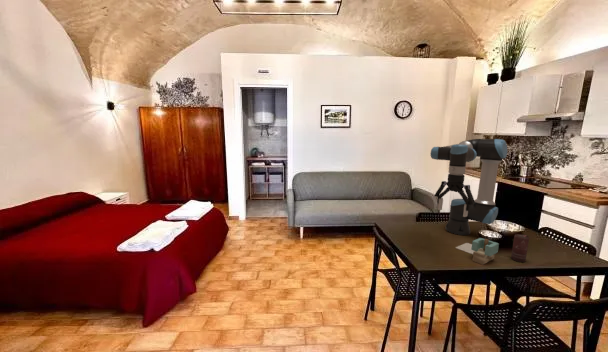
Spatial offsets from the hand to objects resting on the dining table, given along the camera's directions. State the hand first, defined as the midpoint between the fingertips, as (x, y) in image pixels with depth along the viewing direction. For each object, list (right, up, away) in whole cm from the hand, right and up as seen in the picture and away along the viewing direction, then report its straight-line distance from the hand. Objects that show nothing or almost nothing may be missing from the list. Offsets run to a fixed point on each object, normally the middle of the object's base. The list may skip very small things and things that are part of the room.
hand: (452, 213), depth 140 cm
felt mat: (+20, -24, +13) cm, 34 cm away
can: (+37, -26, +2) cm, 45 cm away
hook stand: (+17, -25, +1) cm, 31 cm away
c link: (+17, -20, 0) cm, 27 cm away
